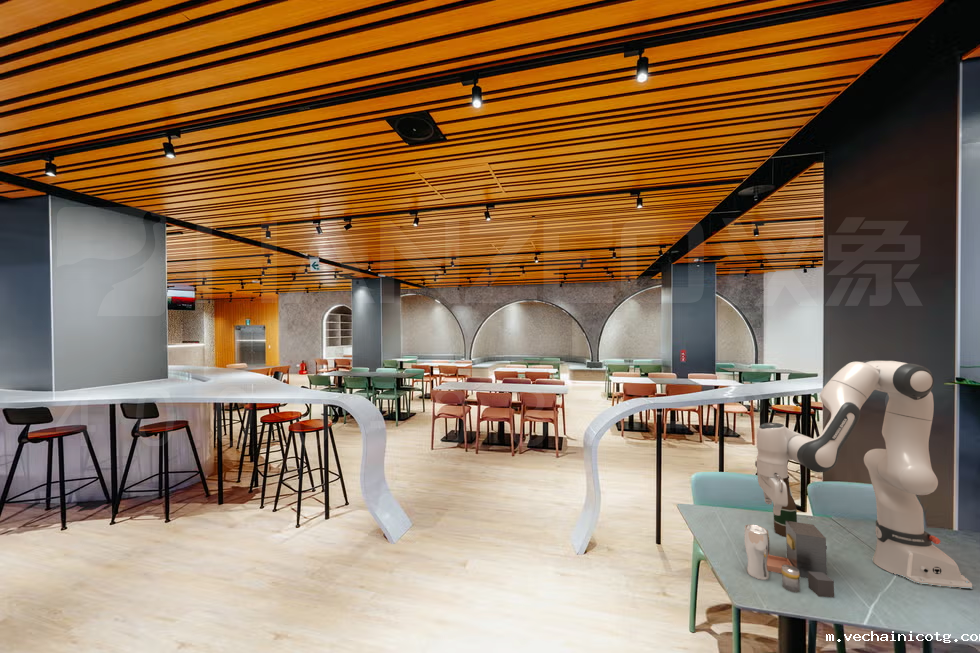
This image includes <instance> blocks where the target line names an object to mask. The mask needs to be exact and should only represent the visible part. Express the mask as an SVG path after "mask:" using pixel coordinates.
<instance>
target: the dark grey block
mask: <svg viewBox="0 0 980 653" xmlns="http://www.w3.org/2000/svg"><path fill="white" fill-rule="evenodd" d="M785 542H786V558H788V559H789V560H790V562H791V563H792V565H793V567H795V568H797V569H798V570H799V573H800V578H803V579H808V571H809V572H823V573H824V574H826V575H827V576H828V565H827V563H828V561H827V558H828V557H827V556H828V555H827V550H828V546H827V537H825V536H824V535H823V533H822V532H821V531H820V530H819V529H818V528H817V527H816V526H815V525H814V524H812V523H811V524H810V523H804V522H798V521H797V522H792V521H786V537H785Z"/></svg>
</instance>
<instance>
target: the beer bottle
mask: <svg viewBox="0 0 980 653" xmlns="http://www.w3.org/2000/svg"><path fill="white" fill-rule="evenodd" d="M783 481H784V482H785V484H786V486H787V496H788V505H787V506H786V507H784V506H782V508H781V511H780V516H778V515H775V514H774V513H773V527H774V528H773V529H774V532H775V534H777V535H779V536H781V537H783V538H786V521H792V522H798V517H797V515H798V514H797V512H798V511H797V504H796V502H795V499H794V498H793V496H792V495H791V490H790V475H789V474H788V477H787V478H783ZM772 504H773V503H772ZM773 508H774V504H773V507H772V509H773Z"/></svg>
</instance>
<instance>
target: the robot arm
mask: <svg viewBox="0 0 980 653" xmlns="http://www.w3.org/2000/svg"><path fill="white" fill-rule="evenodd" d="M934 385H935V379H934V376H933V374H932V372H931V370H930V369H929V368H927V367H925V366H923V365H920V364H916V363H910V362H909V363H907V362H903V361H902V362H901V361H895V360H875V359H871V360H870V359H868V360H867V359H866V360H862V361H852V362H849V363H847V364H845V365H844V366H843V367H842V368H840V369H839V370H838V371H837V372H836V373H835V374H834V375H833V376H832V377H831V378H830V379H829V380H828V382H827V383H826V384H825V385H824V386H823V388H822V389H821V392H820V395H819V397H820V401H821V403H822V404H823V406H824V407H825V408H826V409H827V410H828V411H829V412H830V419H829V420H828V422H827V423H826V425H825V426H824V428H823V430H822V431H821V433H820V435H818V436H817V437H815V438H812V437H810V436H808V435H805V434H801V433H799V432H798V431H797V432H796V431H794V430H792V429H790V428H789V427H786V426H785V425H784V424H783V423H779V422H765V423H762V424H760V425H759V426H758V429H757V432H756V433H757V434H756V449H757V452H758V453H757V456H756V460H755V462H754V464H755V467H756V475H757V482H758V486H759V487H760V488H761V489H762V491H763V496H764V502H765V504H766V505H772V504H774V508H773V507H772V513H773V515H774V514H775V515H778V516H780V511H781V508H782V506H784V507H786V506H787V505H788V496H787V486H786V484H785V482H784V481H783V478H787V477H788V475H789V474H788V473H789V472H788V470H789V468H788V467H789V466H788V461H794V462H796V463H798V464H800V465H802V466H803V467H805V468H807V469H808V470H810V471H812V472H815V473H826V472H828V471H831V470H832V469H833V468H835V466H836V465H837V463H838V461H839V460H838V459H839V457H840V453H841V450H842V449H843V447H844V445H845V444H846V442H847V441H848V439H849V437H850V436H851V434H852V433H853V431H854V429H855V428H856V425H857V424H858V423H859V420H860V418H861V408H862V406H863V405H864V404H865V402H866V401H867V400H868V399H869V397H870V396H871V395H872V393H873V392H874V391H878V392H883V393H886V394H887V396H888V401H887V403H886V408H885V412H884V417H883V423H882V429H881V434H882V437H883V439H884V442H885V448H873V449H870V450H868V451H867V452H866V453H865V454H864V456H863V463H864V465H865V467H866V469H867V470H868V474H869V478H870V481H871V485H872V489H873V492H874V496H875V502H876V503H875V504H876V517H877V518H876V520H875V537H876V545H875V551H874V554H873V557H872V559H871V560H872V562H873V563H874V564H875V565H876V566H877V567H879V568H881V569H883V570H885V571H887V572H888V573H890V574H893V573H894V574H893V575H896V574H899V575H903V576H905V577H907V578H909V579H911V580H913V581H915V582H919V583H928V584H933V585H941V586H951V587H952V586H953V587H972V586H973V583H972V582H971V581H970V580H969V579H968V578H967V577H966V578H965V575H963V574H962V573H961V570H960V568H959V566H958V564H957V562H955V560H954V559H953V558H952V557H950V556H949V555H948V554H946V553H945V552H944V551H943V550H941V549H940V548H939V547H937V546H936V545H939V544H941V542H942V541H941V539H939V538H938V537H936V536H935V535H931V534H930V533H929V532H927V531H925V527H924V509H923V506H922V505H921V502H920V501H919V500H918V497H917V495H918V496H925V495H927V496H928V495H931V493H934V492H935V491H936V490H937V488H938V485H939V480H938V477H937V476H936V474H935V472H934V470H933V468H932V467H933V466H932V463H931V456H930V451H929V448H930V447H929V446H930V445H929V443H930V442H929V440H930V435H931V430H932V424H933V419H934V418H933V417H934V412H935V411H934V406H935V404H934V402H935V401H934V395H933V392H932V389H933V388H934ZM934 544H935V545H934ZM961 574H962V575H961ZM922 580H923V581H922ZM966 581H968V583H966ZM915 582H914V583H915ZM941 586H940V587H941ZM951 587H950V588H951Z"/></svg>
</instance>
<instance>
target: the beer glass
mask: <svg viewBox="0 0 980 653" xmlns="http://www.w3.org/2000/svg"><path fill="white" fill-rule="evenodd" d="M769 536H770V535H769V530H768V529H767V528H765V527H763V526H760V525H756V524H746V525H745V526H744V536H743V537H744V546H745V548H744V549H745V551H746V552H745V553H746V557H747V567H746V572H747V574H748V575H749V576H750V577H752V578H754V579H757V580H760V581H767V580H769V578H770V575H769V571H768V570H767V562H768V556H769V555H770V548H771V547H770V545H771V544H770V537H769Z"/></svg>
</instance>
